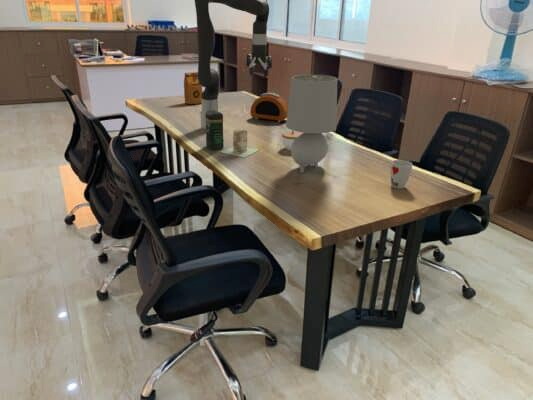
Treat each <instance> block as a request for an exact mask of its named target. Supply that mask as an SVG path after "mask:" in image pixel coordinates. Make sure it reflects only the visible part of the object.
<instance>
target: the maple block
mask: <svg viewBox="0 0 533 400" xmlns="http://www.w3.org/2000/svg"><path fill="white" fill-rule="evenodd" d="M232 147H233V151H235V152H239V153H243V152H245V151H247V147H248V130H245V129H240V128H239V129H236V130H234V131H232Z"/></svg>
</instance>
